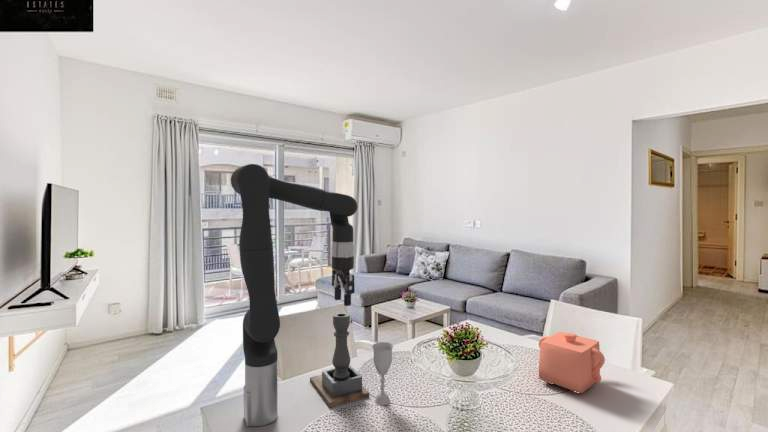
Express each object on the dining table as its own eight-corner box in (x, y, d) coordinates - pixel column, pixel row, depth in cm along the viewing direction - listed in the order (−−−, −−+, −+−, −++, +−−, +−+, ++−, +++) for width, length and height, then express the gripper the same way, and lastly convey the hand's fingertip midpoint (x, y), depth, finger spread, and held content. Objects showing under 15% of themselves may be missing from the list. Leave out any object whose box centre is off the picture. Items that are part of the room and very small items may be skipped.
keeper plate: (329, 407, 119) (329, 402, 119) (309, 381, 137) (309, 377, 136) (369, 396, 126) (369, 392, 126) (345, 373, 143) (345, 369, 143)
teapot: (556, 361, 156) (557, 318, 156) (618, 380, 139) (619, 332, 139) (527, 379, 139) (528, 331, 139) (594, 403, 123) (595, 349, 122)
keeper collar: (332, 398, 121) (332, 383, 121) (321, 385, 131) (322, 370, 130) (362, 391, 126) (362, 376, 126) (349, 378, 136) (349, 365, 135)
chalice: (380, 393, 128) (380, 340, 128) (397, 399, 124) (397, 345, 124) (367, 402, 122) (367, 347, 122) (384, 408, 118) (384, 352, 118)
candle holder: (347, 393, 125) (347, 318, 124) (329, 391, 126) (329, 317, 126) (352, 384, 131) (352, 313, 130) (335, 383, 132) (335, 312, 132)
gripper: (325, 253, 132) (324, 299, 132) (340, 258, 119) (340, 309, 120) (344, 252, 135) (344, 297, 136) (361, 256, 123) (361, 306, 123)
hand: (342, 302), depth 128 cm, fingers open, 8 cm apart
